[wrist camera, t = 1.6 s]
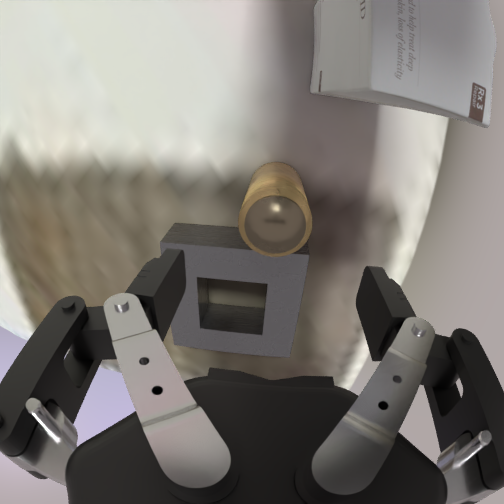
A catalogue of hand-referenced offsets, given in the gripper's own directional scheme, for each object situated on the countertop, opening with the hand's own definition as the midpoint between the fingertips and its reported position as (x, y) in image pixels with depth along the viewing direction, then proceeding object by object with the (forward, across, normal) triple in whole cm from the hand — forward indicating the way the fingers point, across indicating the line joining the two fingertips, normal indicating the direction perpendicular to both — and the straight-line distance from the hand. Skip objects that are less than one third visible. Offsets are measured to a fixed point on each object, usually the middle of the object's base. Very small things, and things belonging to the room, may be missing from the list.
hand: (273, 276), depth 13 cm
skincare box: (+13, -5, -12) cm, 19 cm away
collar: (+13, +3, +10) cm, 17 cm away
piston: (+13, 0, 0) cm, 13 cm away
